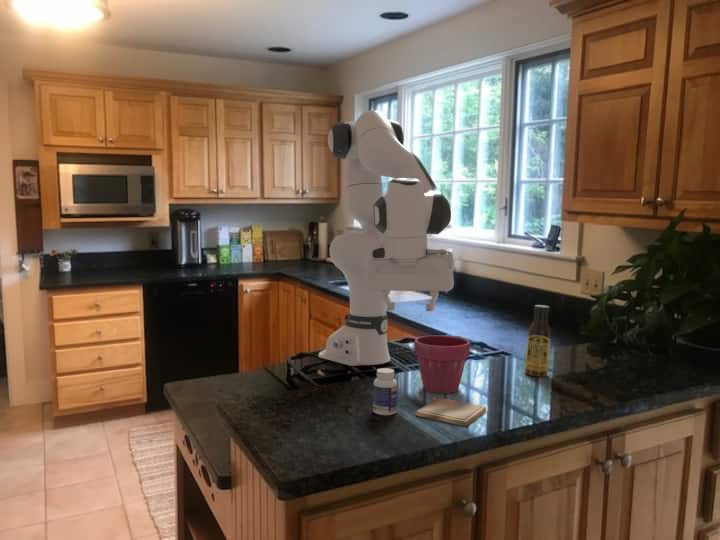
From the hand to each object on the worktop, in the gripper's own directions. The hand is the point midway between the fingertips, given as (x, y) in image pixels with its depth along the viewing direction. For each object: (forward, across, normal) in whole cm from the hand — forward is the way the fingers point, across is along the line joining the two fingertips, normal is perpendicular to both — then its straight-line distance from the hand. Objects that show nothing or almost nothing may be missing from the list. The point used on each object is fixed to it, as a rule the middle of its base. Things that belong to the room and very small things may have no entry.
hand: (410, 310), depth 137 cm
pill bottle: (+23, +6, +4) cm, 24 cm away
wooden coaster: (+24, -8, -2) cm, 25 cm away
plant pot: (+24, -1, -19) cm, 30 cm away
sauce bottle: (+25, -23, -44) cm, 55 cm away
